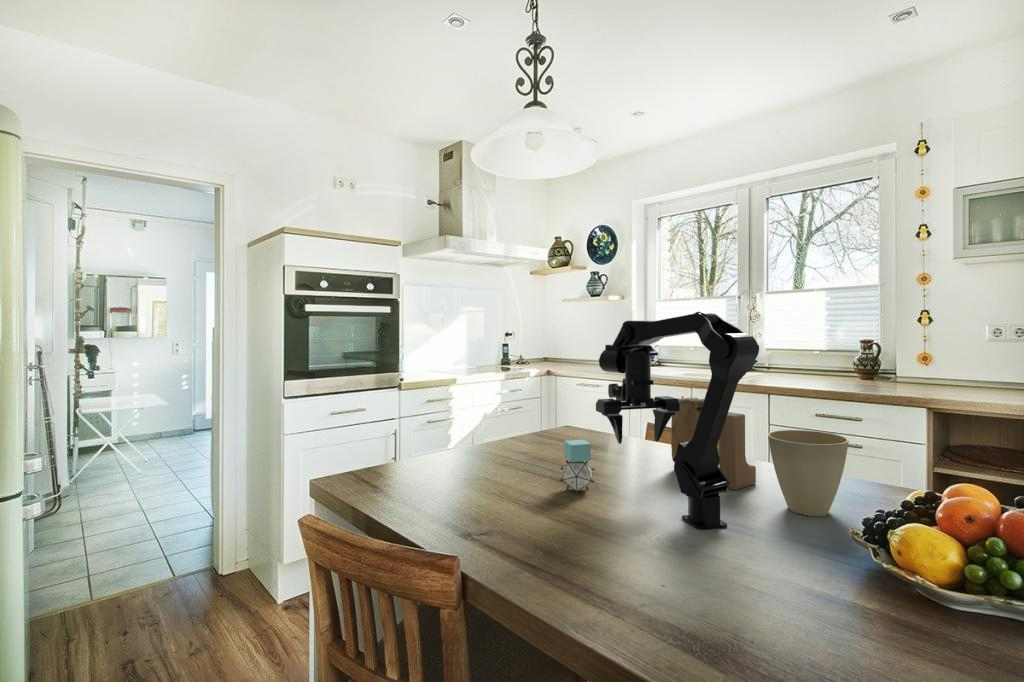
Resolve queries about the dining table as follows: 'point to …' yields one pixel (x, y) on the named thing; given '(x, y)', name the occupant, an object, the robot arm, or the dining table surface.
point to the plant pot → (808, 468)
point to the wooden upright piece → (684, 422)
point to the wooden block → (735, 453)
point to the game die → (577, 475)
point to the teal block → (577, 450)
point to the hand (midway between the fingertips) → (638, 442)
